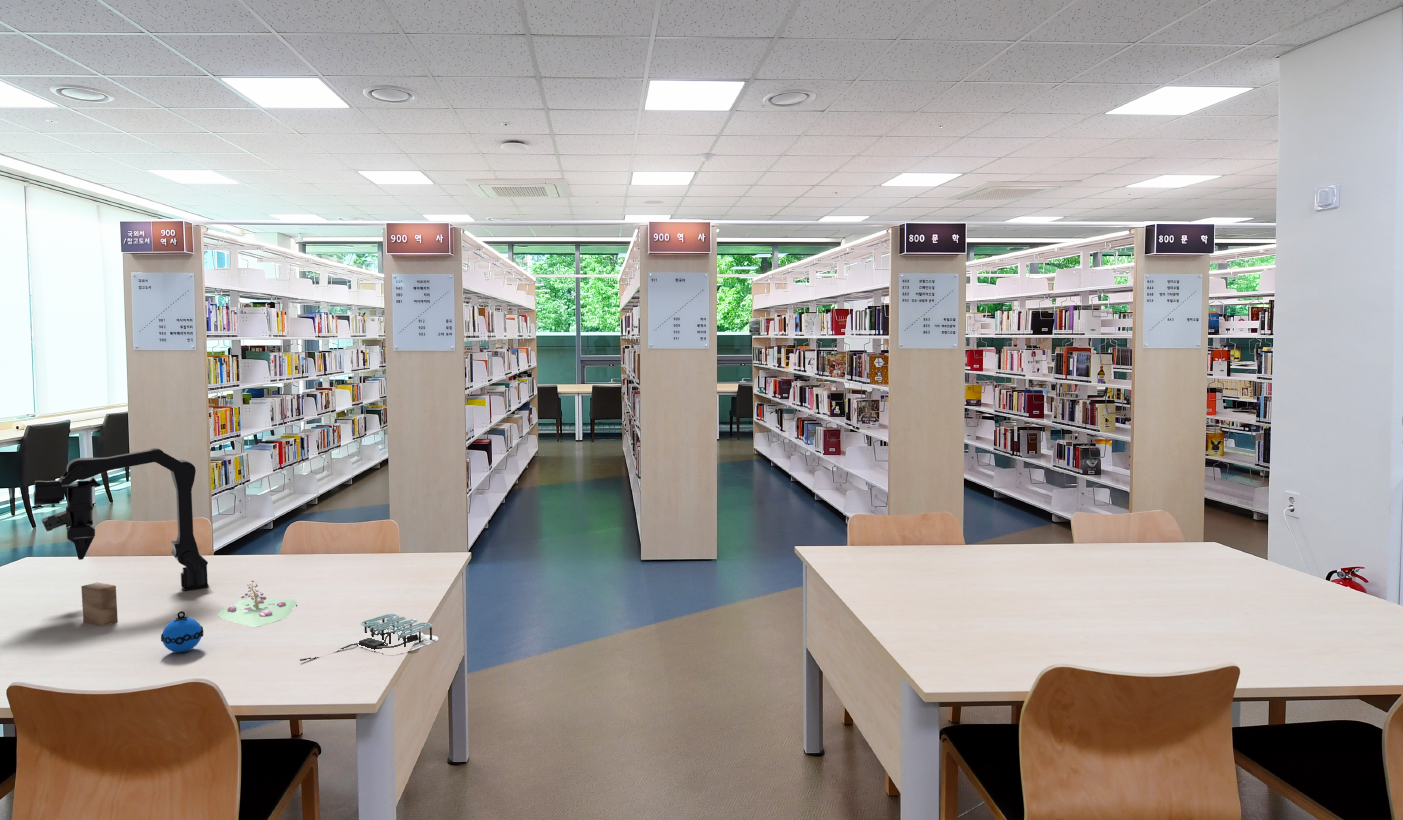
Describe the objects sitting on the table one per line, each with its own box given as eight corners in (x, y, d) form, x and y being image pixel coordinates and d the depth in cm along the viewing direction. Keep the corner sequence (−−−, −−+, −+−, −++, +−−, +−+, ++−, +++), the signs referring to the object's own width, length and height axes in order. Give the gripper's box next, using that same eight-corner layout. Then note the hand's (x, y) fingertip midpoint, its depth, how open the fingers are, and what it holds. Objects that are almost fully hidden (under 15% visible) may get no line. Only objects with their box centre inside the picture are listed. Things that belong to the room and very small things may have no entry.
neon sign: (285, 643, 194) (391, 610, 218) (286, 660, 194) (392, 625, 219) (339, 661, 182) (444, 624, 207) (339, 679, 183) (444, 640, 207)
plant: (313, 617, 226) (312, 585, 225) (230, 634, 212) (228, 601, 211) (286, 597, 244) (285, 567, 243) (207, 612, 230) (206, 581, 229)
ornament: (159, 660, 193) (157, 619, 192) (165, 648, 200) (163, 608, 200) (201, 654, 196) (199, 614, 196) (205, 643, 204) (204, 604, 203)
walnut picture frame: (99, 617, 223) (97, 582, 223) (118, 621, 220) (116, 585, 220) (83, 622, 220) (81, 586, 219) (101, 626, 216) (99, 589, 216)
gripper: (43, 498, 235) (44, 551, 236) (43, 510, 220) (44, 567, 221) (91, 496, 242) (92, 547, 243) (95, 507, 227) (95, 562, 228)
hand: (80, 555), depth 234 cm, fingers open, 9 cm apart
